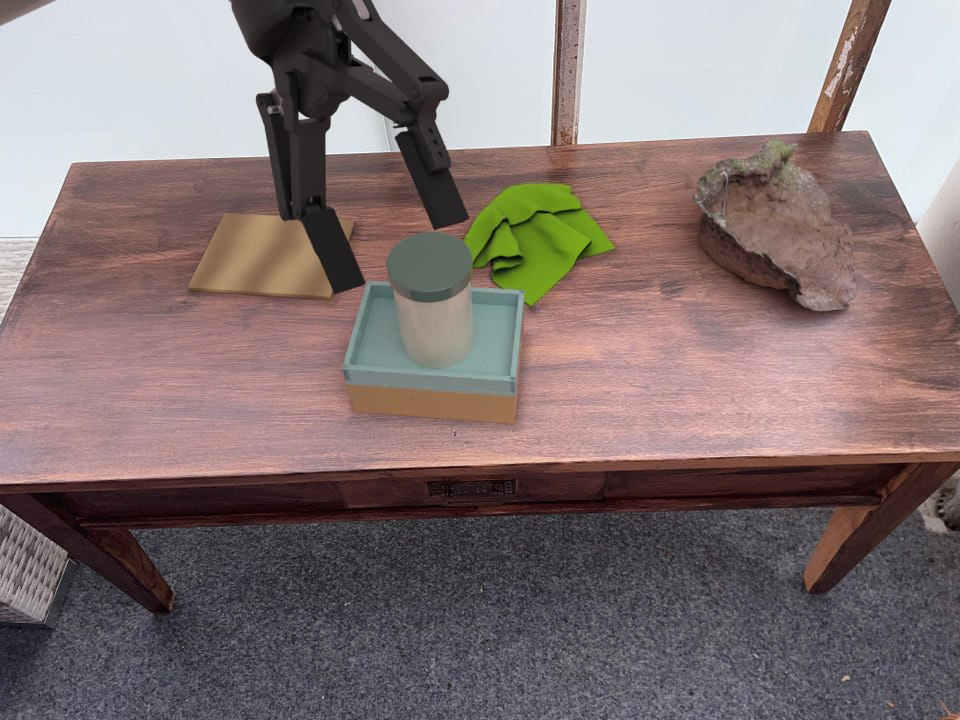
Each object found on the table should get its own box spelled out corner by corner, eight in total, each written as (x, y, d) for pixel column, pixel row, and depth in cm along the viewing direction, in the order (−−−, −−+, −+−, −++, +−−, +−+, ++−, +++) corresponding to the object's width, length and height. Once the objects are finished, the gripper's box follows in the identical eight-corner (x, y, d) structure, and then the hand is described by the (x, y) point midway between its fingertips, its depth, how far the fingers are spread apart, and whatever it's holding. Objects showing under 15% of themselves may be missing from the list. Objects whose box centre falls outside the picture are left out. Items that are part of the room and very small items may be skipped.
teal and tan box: (354, 412, 77) (341, 368, 71) (376, 326, 85) (367, 280, 79) (514, 424, 76) (515, 381, 70) (523, 335, 83) (524, 289, 77)
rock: (864, 355, 84) (918, 296, 76) (679, 320, 82) (716, 256, 75) (818, 214, 100) (859, 154, 92) (664, 183, 99) (692, 120, 91)
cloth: (572, 175, 101) (574, 161, 99) (635, 283, 88) (638, 268, 86) (430, 204, 98) (429, 190, 96) (473, 320, 85) (473, 306, 83)
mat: (188, 290, 89) (187, 287, 89) (225, 216, 98) (224, 212, 97) (330, 299, 87) (330, 296, 87) (355, 223, 96) (355, 219, 96)
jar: (393, 367, 74) (378, 288, 65) (407, 309, 79) (394, 228, 70) (471, 373, 73) (467, 294, 64) (480, 314, 78) (477, 233, 69)
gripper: (414, -137, 45) (546, 179, 46) (256, 76, 64) (352, 298, 64) (314, -157, 40) (465, 198, 41) (174, 80, 59) (280, 321, 59)
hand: (396, 260), depth 53 cm, fingers open, 13 cm apart
